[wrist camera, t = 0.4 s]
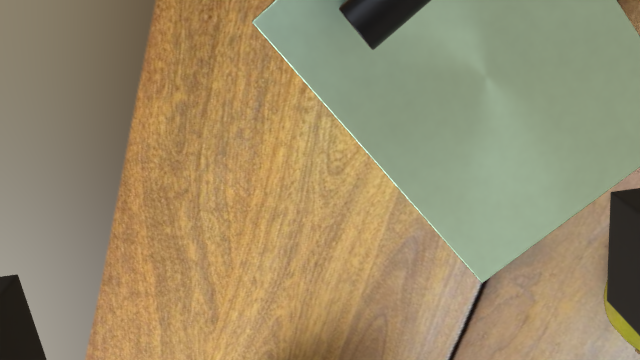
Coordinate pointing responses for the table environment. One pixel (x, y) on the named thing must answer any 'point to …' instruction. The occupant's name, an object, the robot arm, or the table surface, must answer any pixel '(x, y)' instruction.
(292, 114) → the table surface
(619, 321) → the apple
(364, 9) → the freezer lid
